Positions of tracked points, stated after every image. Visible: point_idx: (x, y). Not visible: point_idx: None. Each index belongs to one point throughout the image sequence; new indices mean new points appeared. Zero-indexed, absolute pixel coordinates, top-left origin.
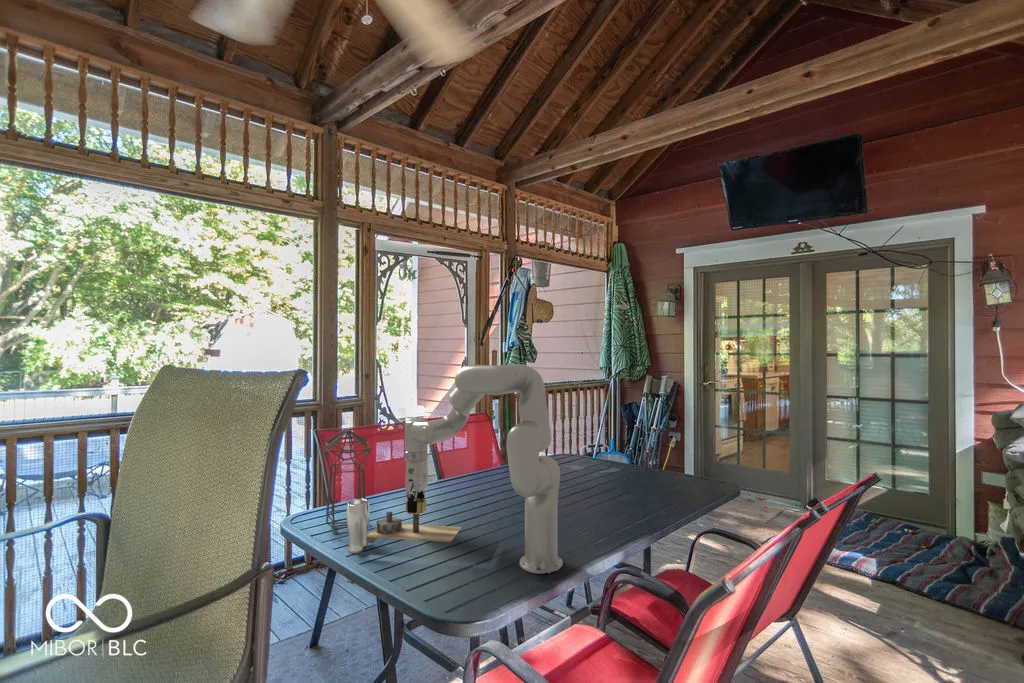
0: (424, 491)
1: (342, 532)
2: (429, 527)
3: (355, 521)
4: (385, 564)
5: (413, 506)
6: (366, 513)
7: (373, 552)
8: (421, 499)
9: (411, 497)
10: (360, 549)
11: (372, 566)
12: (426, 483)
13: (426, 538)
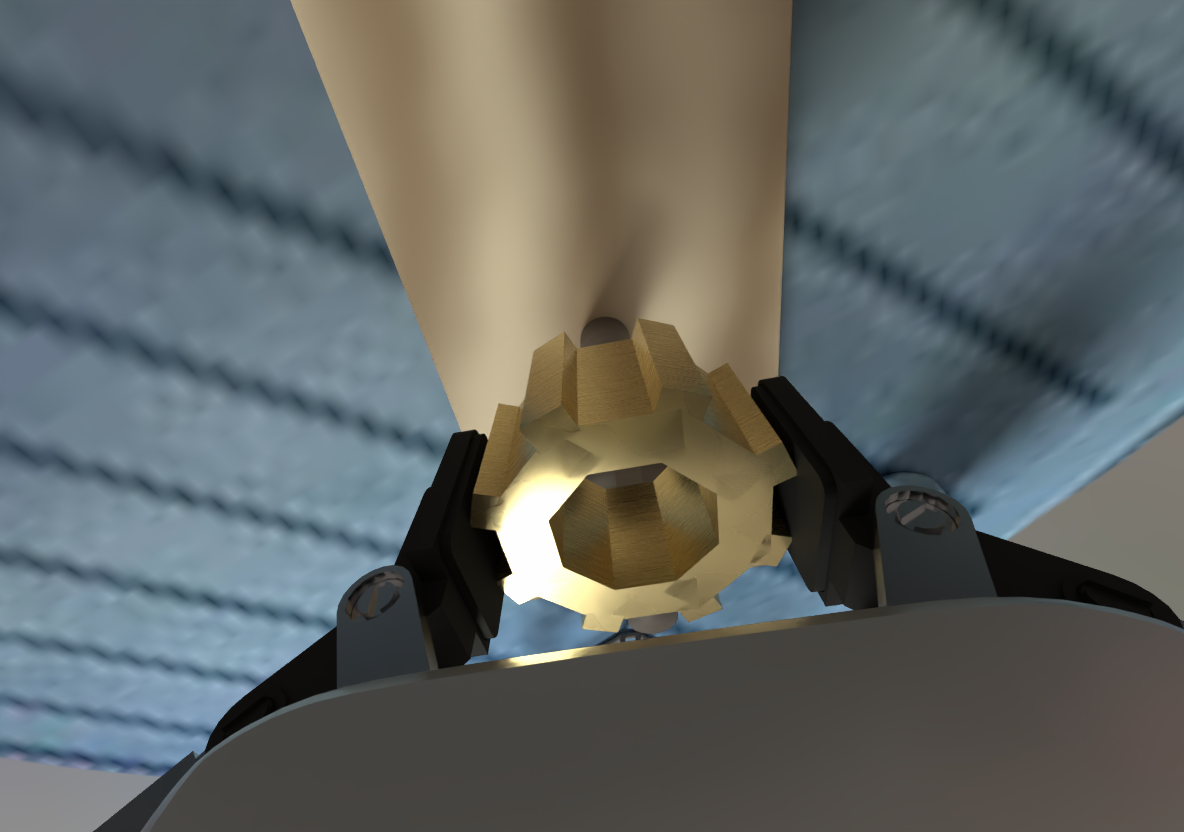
0: (346, 606)
1: None
2: (462, 287)
3: None
4: (1153, 251)
5: (857, 452)
6: None
7: (924, 427)
8: (535, 500)
9: (1119, 584)
10: (946, 494)
11: (1167, 315)
12: (365, 827)
13: (731, 162)
